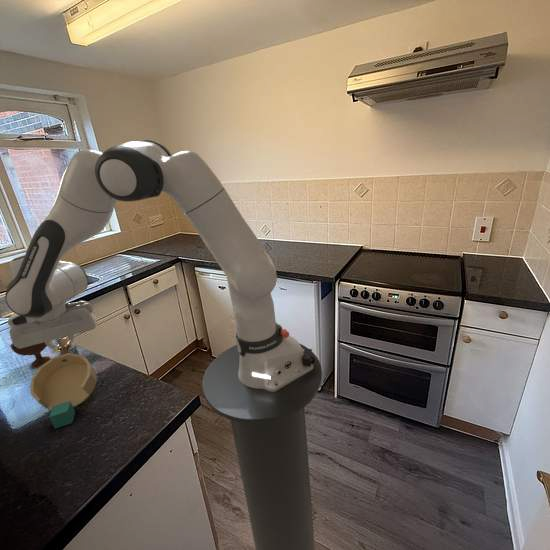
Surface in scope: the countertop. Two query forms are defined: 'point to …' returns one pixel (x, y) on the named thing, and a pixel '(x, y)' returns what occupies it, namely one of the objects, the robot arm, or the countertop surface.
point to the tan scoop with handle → (63, 379)
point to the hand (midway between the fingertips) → (64, 349)
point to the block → (62, 414)
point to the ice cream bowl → (33, 353)
